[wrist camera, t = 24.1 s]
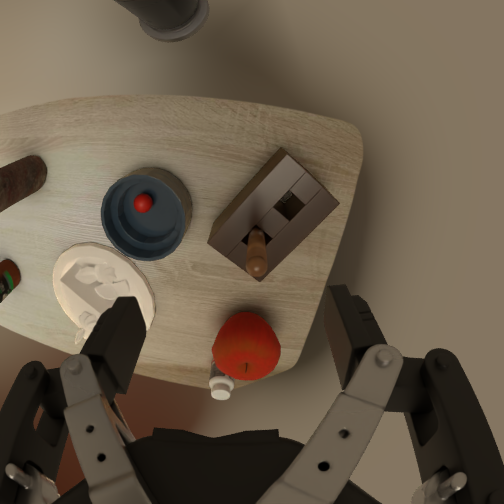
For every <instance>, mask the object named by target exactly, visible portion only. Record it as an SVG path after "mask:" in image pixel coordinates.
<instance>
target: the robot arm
mask: <svg viewBox="0 0 504 504" xmlns="http://www.w3.org/2000/svg"><path fill="white" fill-rule="evenodd" d="M114 1H116V2H117V3H118V4H120V5H122V6H123V7H125V8H126V9H127V10H129V11H130V12H131V13H133V14H134V15H136V16H137V17H138V18H140V19H141V20H142V21H144V22H145V23H146V24H147V25H148V26H149V27H150V28H152V29H153V30H155V31H157V32H161V33H172V32H177V31H179V30H182V29H184V28H185V27H187V26H188V25H190V24H191V23H192V22H193V21H194V20H195V18H196V17H197V15H198V13H199V9H200V2H199V0H114ZM324 326H325V331H326V334H327V337H328V341H329V344H330V348H331V351H332V355H333V358H334V362H335V365H336V369H337V373H338V376H339V380H340V384H341V387H342V390H344V392H341V393H340V394H339V395H338V396H337V398H336V399H335V401H334V403H333V404H332V406H331V408H330V409H329V411H328V412H327V414H326V415H325V417H324V418H323V420H322V421H321V423H320V424H319V426H318V427H317V429H316V430H315V432H314V433H313V435H312V436H311V437H310V439H309V440H308V442H307V443H306V445H304V444H302V443H300V442H297V441H295V440H292V439H288V438H282V437H279V432H278V429H274V430H255V431H243V432H239V433H235V434H231V435H226V436H221V437H216V438H211V437H207V436H203V435H199V434H195V433H192V432H188V431H185V430H178V429H165V428H154V430H153V435H152V436H147V437H143V438H140V439H137V440H135V438H134V436H133V435H132V433H131V431H130V429H129V427H128V425H127V423H126V421H125V419H124V417H123V415H122V413H121V411H120V410H119V407H118V405H117V402H116V401H115V399H114V397H115V394H116V393H119V394H126V393H127V389H128V386H129V383H130V380H131V377H132V374H133V372H134V369H135V366H136V363H137V360H138V357H139V354H140V351H141V349H142V346H143V343H144V340H145V338H146V323H145V321H144V318H143V315H142V312H141V309H140V306H139V303H138V300H137V298H136V297H135V296H119V297H117V299H116V301H115V302H114V304H113V306H112V308H108V309H107V310H106V311H105V312H103V313H102V314H101V315H100V317H99V319H98V321H97V322H96V325H95V326H94V328H93V330H92V332H91V333H90V335H89V337H88V339H87V340H86V342H85V344H84V346H83V348H82V350H81V352H80V354H75V355H72V356H70V357H68V358H67V359H66V360H65V361H64V362H63V363H62V364H61V367H60V368H55V369H48V370H46V368H45V367H44V365H43V364H42V363H41V362H39V361H31V362H29V363H27V364H26V365H24V366H23V367H22V369H21V370H20V372H19V374H18V376H17V378H16V380H15V382H14V384H13V386H12V388H11V390H10V392H9V394H8V396H7V398H6V400H5V402H4V404H3V407H2V409H1V411H0V504H382V503H380V502H379V501H377V500H376V499H375V498H373V497H372V496H370V495H369V494H367V493H366V492H365V491H364V490H362V489H361V488H360V487H358V486H357V485H356V484H354V483H353V482H352V481H351V480H349V478H350V476H351V474H352V473H353V471H354V469H355V467H356V466H357V464H358V462H359V461H360V459H361V457H362V455H363V453H364V451H365V450H366V448H367V446H368V444H369V442H370V440H371V438H372V436H373V434H374V432H375V430H376V428H377V426H378V424H379V422H380V419H381V417H382V415H383V413H384V411H388V412H404V416H405V419H406V422H407V426H408V429H409V433H410V436H411V440H412V444H413V448H414V451H415V455H416V459H417V463H418V467H419V472H420V476H421V480H422V485H421V486H419V487H418V489H416V491H415V492H414V494H413V497H412V504H504V465H503V462H502V459H501V456H500V453H499V450H498V447H497V445H496V442H495V440H494V437H493V434H492V432H491V429H490V427H489V425H488V422H487V420H486V417H485V415H484V413H483V410H482V408H481V406H480V404H479V402H478V399H477V397H476V395H475V393H474V391H473V389H472V386H471V384H470V382H469V381H468V378H467V376H466V374H465V372H464V370H463V368H462V367H461V365H460V363H459V361H458V359H457V357H456V356H455V355H454V354H453V353H452V352H450V351H448V350H446V349H441V348H438V349H433V350H431V351H429V352H428V353H427V355H426V356H425V359H422V358H408V357H403V356H402V355H401V353H400V352H399V351H398V350H397V349H396V348H394V347H392V346H390V345H388V344H387V342H386V340H385V338H384V336H383V334H382V332H381V330H380V328H379V326H378V324H377V322H376V320H375V318H374V316H373V314H372V313H371V310H370V308H369V306H368V304H367V302H366V301H365V300H363V299H362V298H361V297H360V296H359V295H355V296H351V295H350V293H349V291H348V288H347V286H346V285H344V284H343V285H333V286H327V289H326V299H325V309H324ZM39 406H40V407H41V408H42V409H43V410H44V411H43V413H42V416H41V418H40V421H39V424H38V427H37V429H36V431H35V429H34V426H33V421H34V417H35V415H36V413H37V410H38V408H39ZM68 433H70V436H71V439H72V442H73V445H74V448H75V451H76V454H77V457H78V459H79V462H80V465H81V468H82V470H83V473H84V475H85V479H83V480H82V481H81V482H79V483H78V484H77V485H76V486H74V487H73V488H71V489H70V490H69V491H67V492H66V493H65V494H63V495H62V496H61V497H60V495H59V494H58V492H57V488H56V485H55V481H56V477H57V473H58V469H59V465H60V461H61V457H62V453H63V450H64V447H65V443H66V440H67V436H68Z"/></svg>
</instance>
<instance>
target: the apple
mask: <svg viewBox="0 0 504 504" xmlns="http://www.w3.org/2000/svg"><path fill="white" fill-rule="evenodd" d="M280 352H281V346H280V343H279V341H278V339H277V337H276V335H275V333H274V331H273V330H272V328H271V326H270V325H269V324H268V323H267V322H266V321H265V320H264V319H263V318H262V317H260V316H259V315H257V314H254V313H251V312H240V313H237V314H235V315H233V316H232V317H230V318H229V319H228V320H227V321H226V323H225V324H224V325H223V326H222V327H221V329H220V331H219V333H218V335H217V337H216V340H215V342H214V344H213V347H212V353H213V358H214V361H215V364H216V366H217V368H218V369H219V370H221V371H222V372H223V373H224V374H226V375H228V376H230V377H232V378H235V379H239V380H256V379H259V378H262V377H264V376H266V375H267V374H269V373H270V372H271V371H273V370H274V368H275V366H276V365H277V363H278V360H279V358H280Z"/></svg>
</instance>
